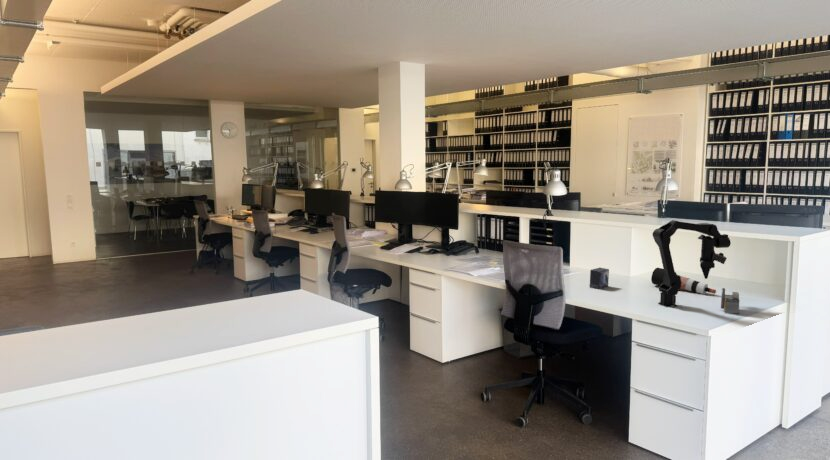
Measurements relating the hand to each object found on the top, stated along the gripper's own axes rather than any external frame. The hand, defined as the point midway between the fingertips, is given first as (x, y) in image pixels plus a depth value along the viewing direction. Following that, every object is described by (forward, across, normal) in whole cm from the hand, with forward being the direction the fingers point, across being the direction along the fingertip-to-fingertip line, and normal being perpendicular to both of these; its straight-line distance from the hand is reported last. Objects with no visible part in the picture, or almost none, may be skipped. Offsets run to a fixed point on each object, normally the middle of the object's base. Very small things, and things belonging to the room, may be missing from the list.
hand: (706, 278), depth 285 cm
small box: (+13, +17, +54) cm, 58 cm away
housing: (+13, -11, -11) cm, 20 cm away
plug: (+13, -11, -10) cm, 20 cm away
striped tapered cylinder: (+14, +27, +10) cm, 32 cm away
